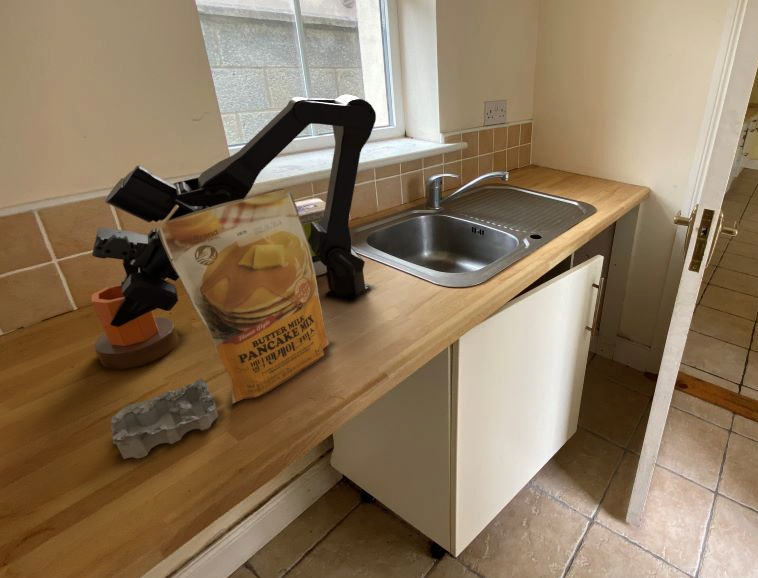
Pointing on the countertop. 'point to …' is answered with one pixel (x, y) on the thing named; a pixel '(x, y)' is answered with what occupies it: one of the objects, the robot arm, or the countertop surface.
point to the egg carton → (163, 419)
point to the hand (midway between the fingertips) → (114, 315)
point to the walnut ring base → (138, 348)
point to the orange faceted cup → (129, 332)
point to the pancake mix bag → (251, 287)
